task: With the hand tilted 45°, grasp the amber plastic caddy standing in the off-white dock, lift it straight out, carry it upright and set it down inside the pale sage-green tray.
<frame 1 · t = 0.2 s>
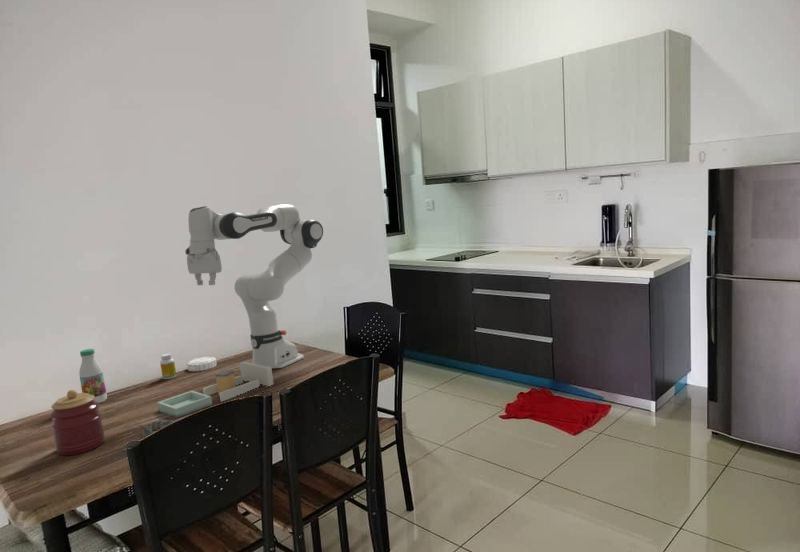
hand: (206, 285, 217), 39 cm above the table, tool pointing down, fingers open, 8 cm apart
supplement bottle: (169, 377, 236), on the table
canister: (81, 447, 170), on the table
mooncake: (202, 368, 247), on the table
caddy: (227, 393, 207), on the table
dock: (227, 393, 207), on the table
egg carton: (161, 435, 174), on the table
tray: (185, 407, 196), on the table
milk bottle: (96, 402, 213), on the table
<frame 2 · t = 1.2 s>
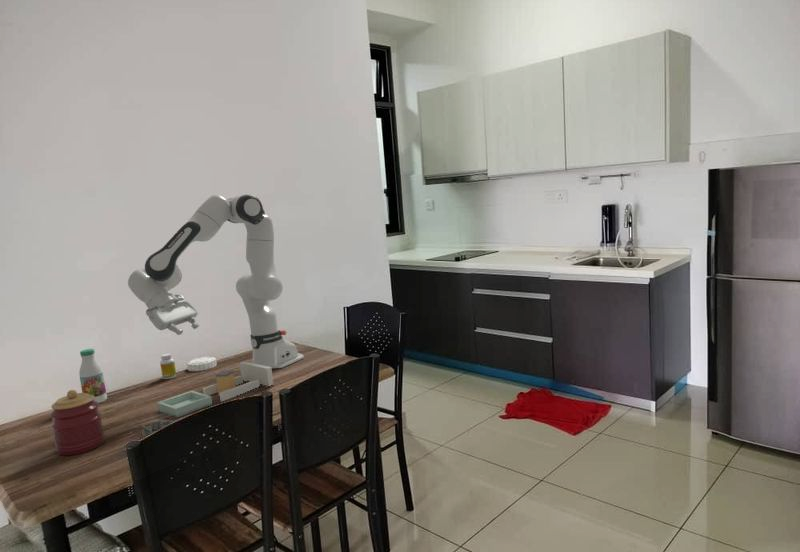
hand: (189, 330, 207), 24 cm above the table, tool tilted 45°, fingers open, 8 cm apart
nothing on the table moved.
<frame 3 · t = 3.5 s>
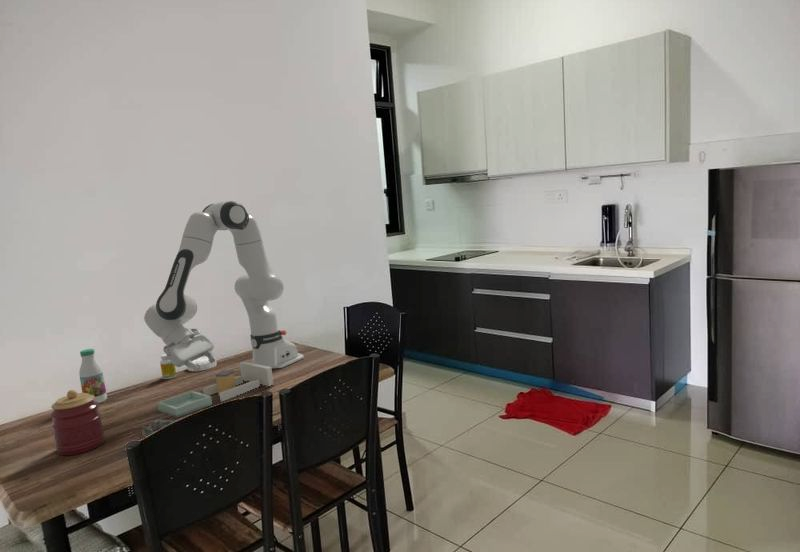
hand: (206, 365, 208), 11 cm above the table, tool tilted 45°, fingers open, 8 cm apart
nothing on the table moved.
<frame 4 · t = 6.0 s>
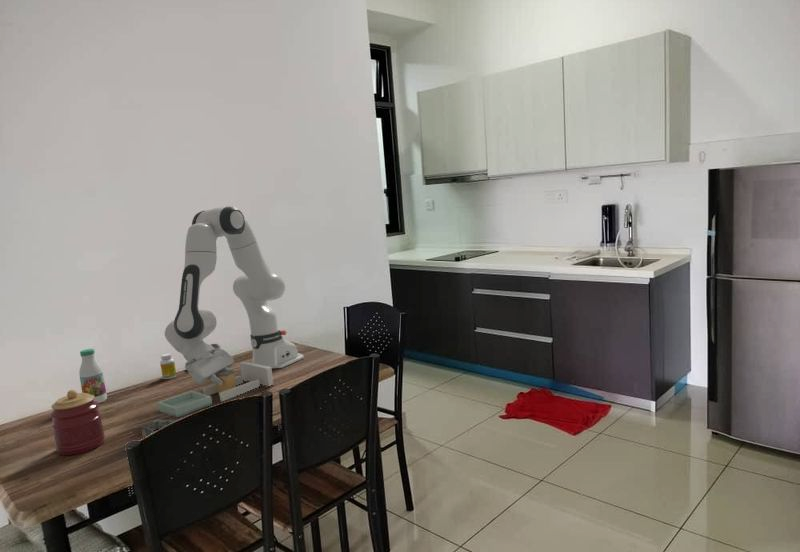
hand: (227, 381, 206), 5 cm above the table, tool tilted 45°, fingers closed on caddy, 4 cm apart
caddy: (227, 393, 207), on the table, touching gripper
everything else where it was.
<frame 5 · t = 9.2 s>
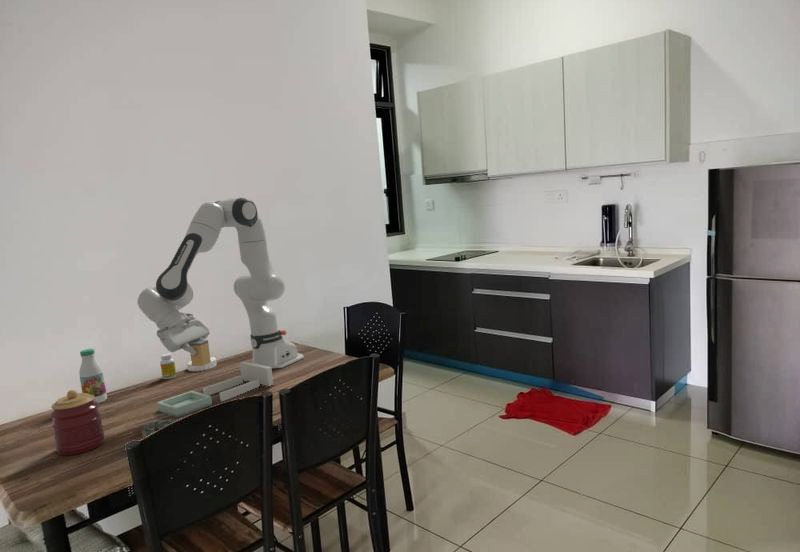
hand: (201, 351, 199), 18 cm above the table, tool tilted 45°, fingers closed on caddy, 4 cm apart
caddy: (201, 364, 200), point 13 cm above the table, touching gripper
everything else where it was.
when the fingers open (7 cm above the table, at t = 12.4 s): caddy drops 1 cm, resting on tray.
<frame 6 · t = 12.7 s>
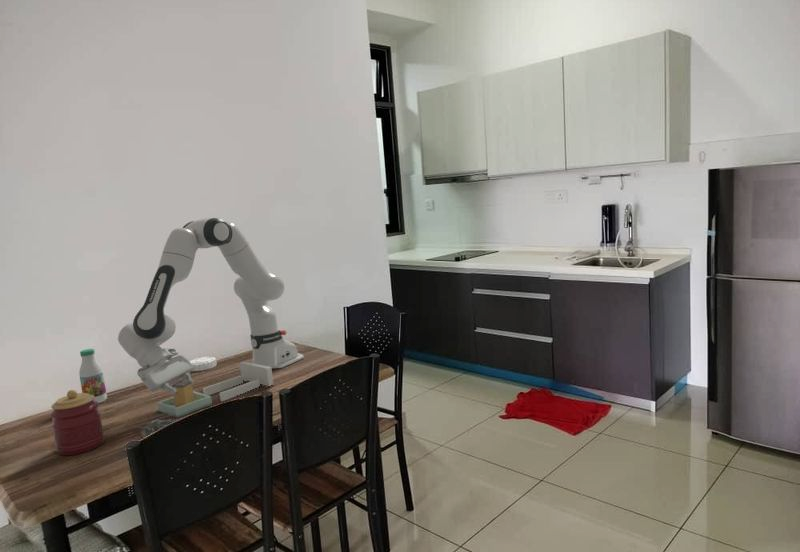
hand: (184, 388, 195), 7 cm above the table, tool tilted 45°, fingers open, 7 cm apart
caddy: (185, 405, 196), point 1 cm above the table, touching tray
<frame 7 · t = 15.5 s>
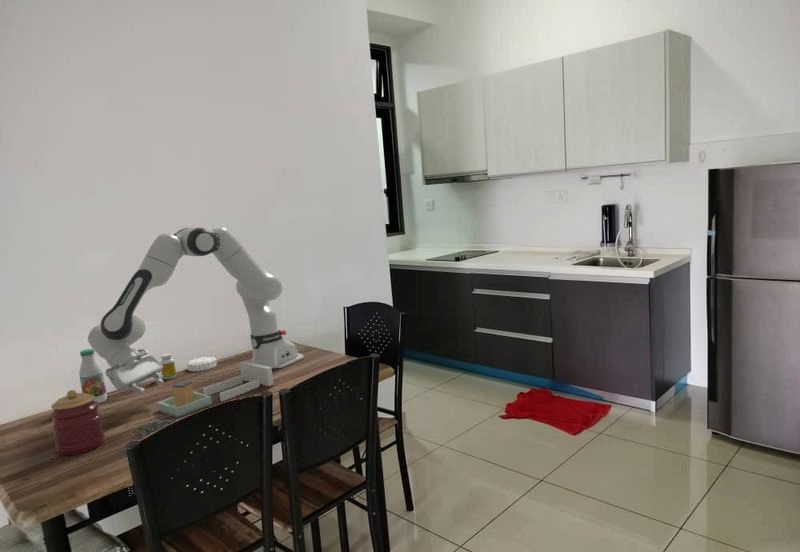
hand: (152, 388, 199), 7 cm above the table, tool tilted 45°, fingers open, 8 cm apart
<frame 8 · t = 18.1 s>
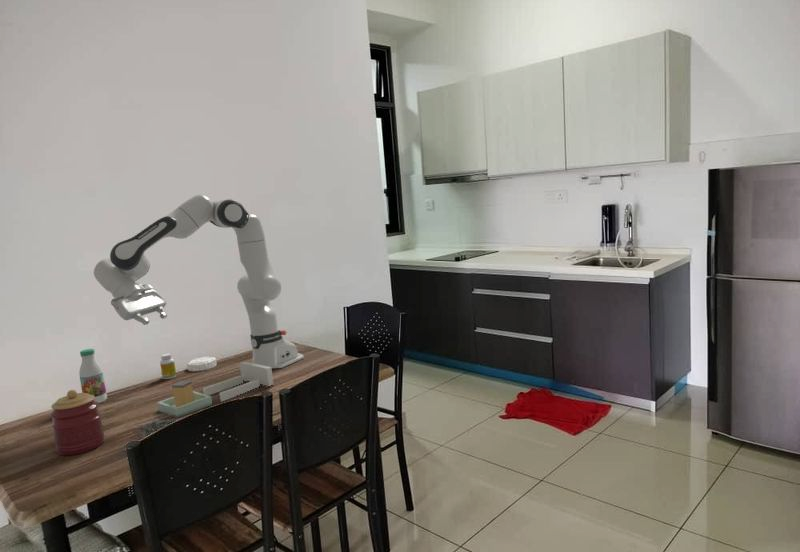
hand: (156, 320, 204), 29 cm above the table, tool tilted 45°, fingers open, 8 cm apart
at the end: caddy inside the target area on the tray (0.1 cm from its centre), point 0.8 cm above the tray's base; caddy tilted 0°; the gripper is holding nothing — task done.
